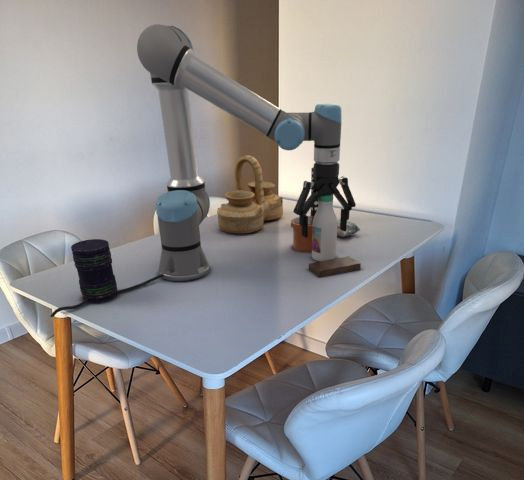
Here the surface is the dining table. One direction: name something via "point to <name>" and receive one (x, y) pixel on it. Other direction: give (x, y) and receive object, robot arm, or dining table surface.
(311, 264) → the walnut board
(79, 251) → the storage jar
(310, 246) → the flower pot
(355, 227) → the packaged food
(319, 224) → the milk bottle
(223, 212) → the ceramic vessel
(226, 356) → the dining table surface
